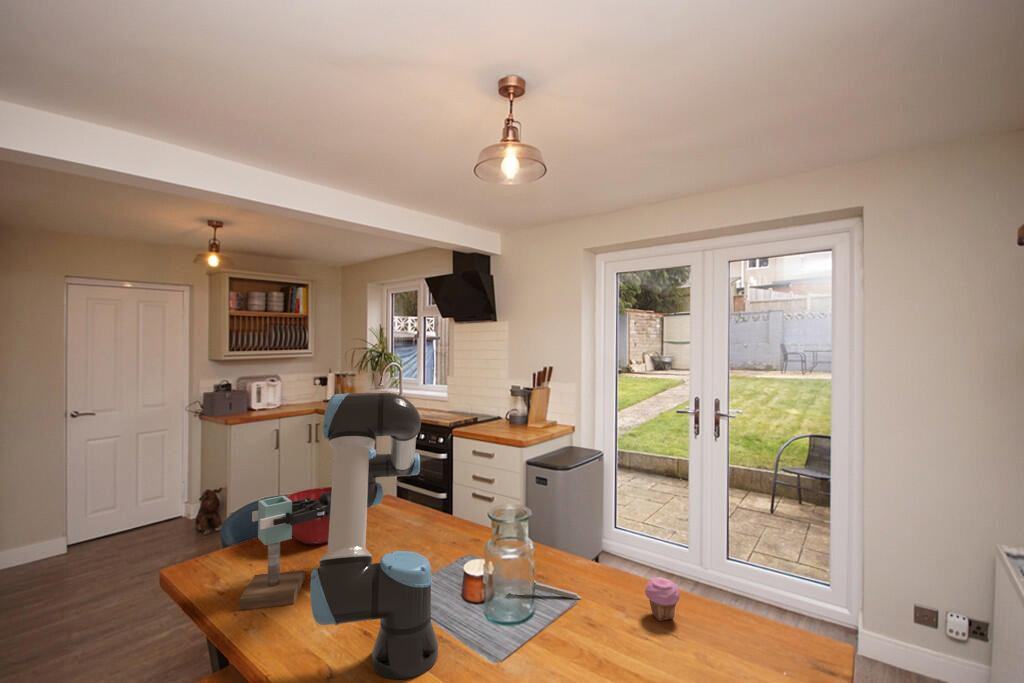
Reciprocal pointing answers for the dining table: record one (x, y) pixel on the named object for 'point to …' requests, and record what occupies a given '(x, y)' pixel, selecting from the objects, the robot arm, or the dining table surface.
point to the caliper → (555, 590)
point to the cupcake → (662, 597)
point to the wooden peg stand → (272, 584)
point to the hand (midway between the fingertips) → (256, 520)
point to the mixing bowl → (315, 528)
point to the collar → (269, 510)
